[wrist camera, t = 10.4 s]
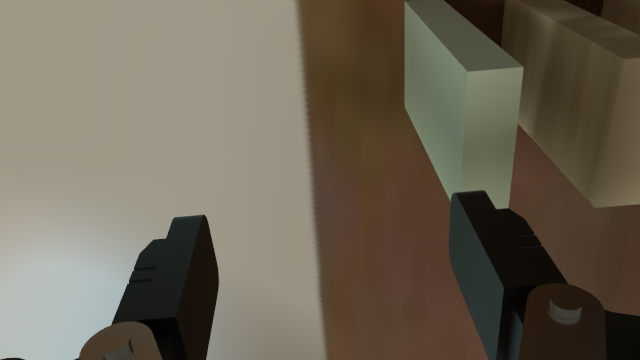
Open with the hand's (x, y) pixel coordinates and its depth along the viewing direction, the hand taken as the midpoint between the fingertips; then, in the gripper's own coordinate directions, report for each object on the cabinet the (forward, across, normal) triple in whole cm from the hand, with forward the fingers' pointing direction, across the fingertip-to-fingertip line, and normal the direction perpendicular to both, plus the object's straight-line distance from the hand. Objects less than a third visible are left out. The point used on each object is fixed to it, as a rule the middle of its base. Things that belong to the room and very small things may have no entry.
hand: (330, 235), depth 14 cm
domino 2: (+14, -10, 0) cm, 17 cm away
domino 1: (+14, -5, 0) cm, 15 cm away
